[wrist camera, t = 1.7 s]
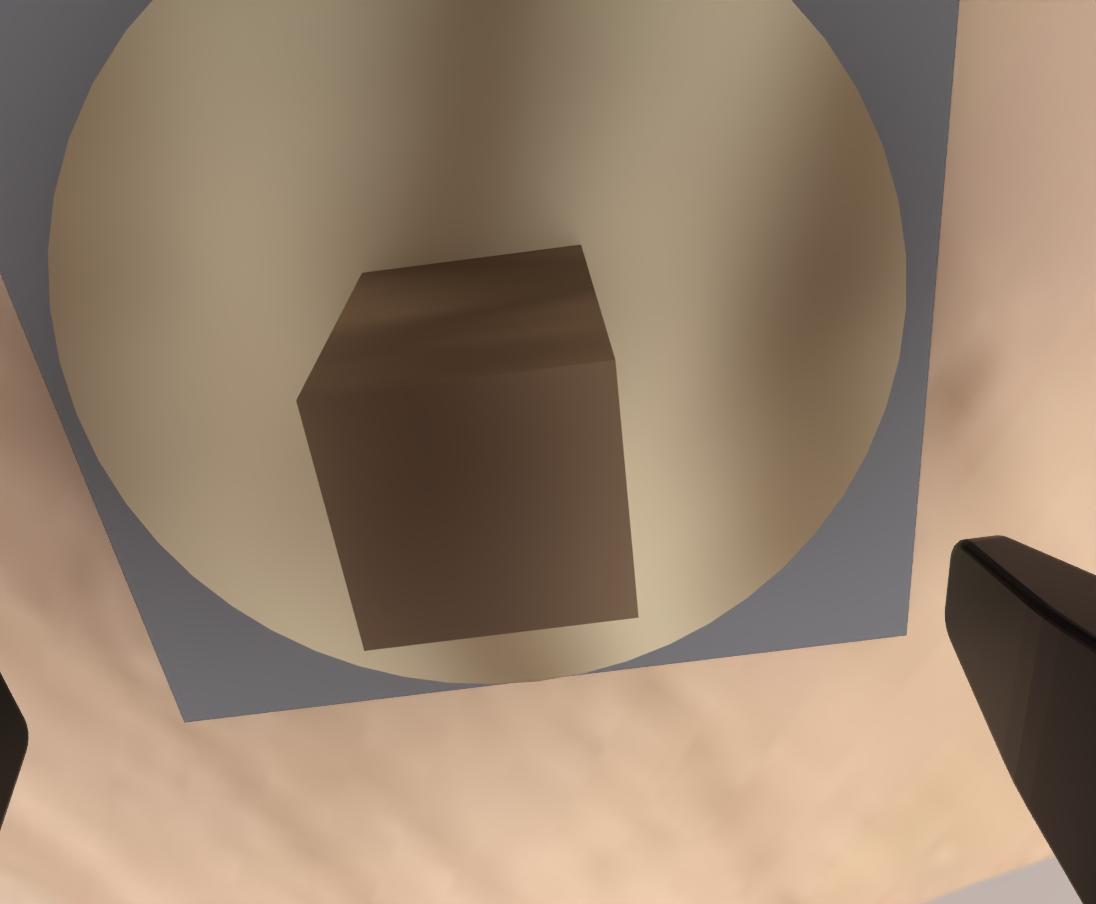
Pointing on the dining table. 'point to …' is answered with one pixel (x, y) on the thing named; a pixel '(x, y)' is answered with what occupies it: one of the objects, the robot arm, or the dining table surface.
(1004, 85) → the dining table surface
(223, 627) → the mat
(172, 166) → the lid
